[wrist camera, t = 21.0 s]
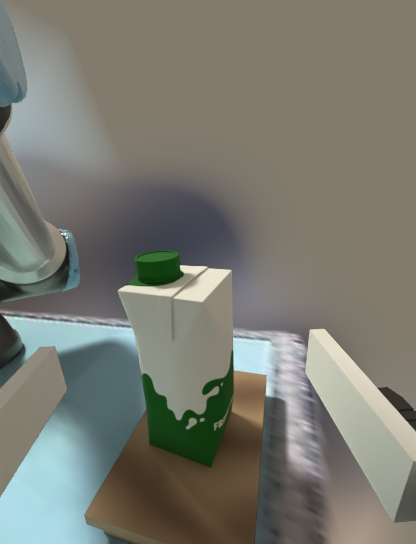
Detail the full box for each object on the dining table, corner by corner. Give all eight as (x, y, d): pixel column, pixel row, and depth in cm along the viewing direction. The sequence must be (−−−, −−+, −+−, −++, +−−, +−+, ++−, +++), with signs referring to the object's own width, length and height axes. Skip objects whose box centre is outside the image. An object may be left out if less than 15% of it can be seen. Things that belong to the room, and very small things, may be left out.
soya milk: (176, 389, 34) (160, 244, 28) (242, 407, 31) (240, 247, 24) (136, 450, 26) (101, 268, 20) (218, 482, 23) (207, 277, 17)
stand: (176, 377, 40) (174, 362, 39) (266, 392, 37) (266, 375, 36) (91, 536, 22) (84, 514, 21) (251, 597, 19) (251, 574, 18)
